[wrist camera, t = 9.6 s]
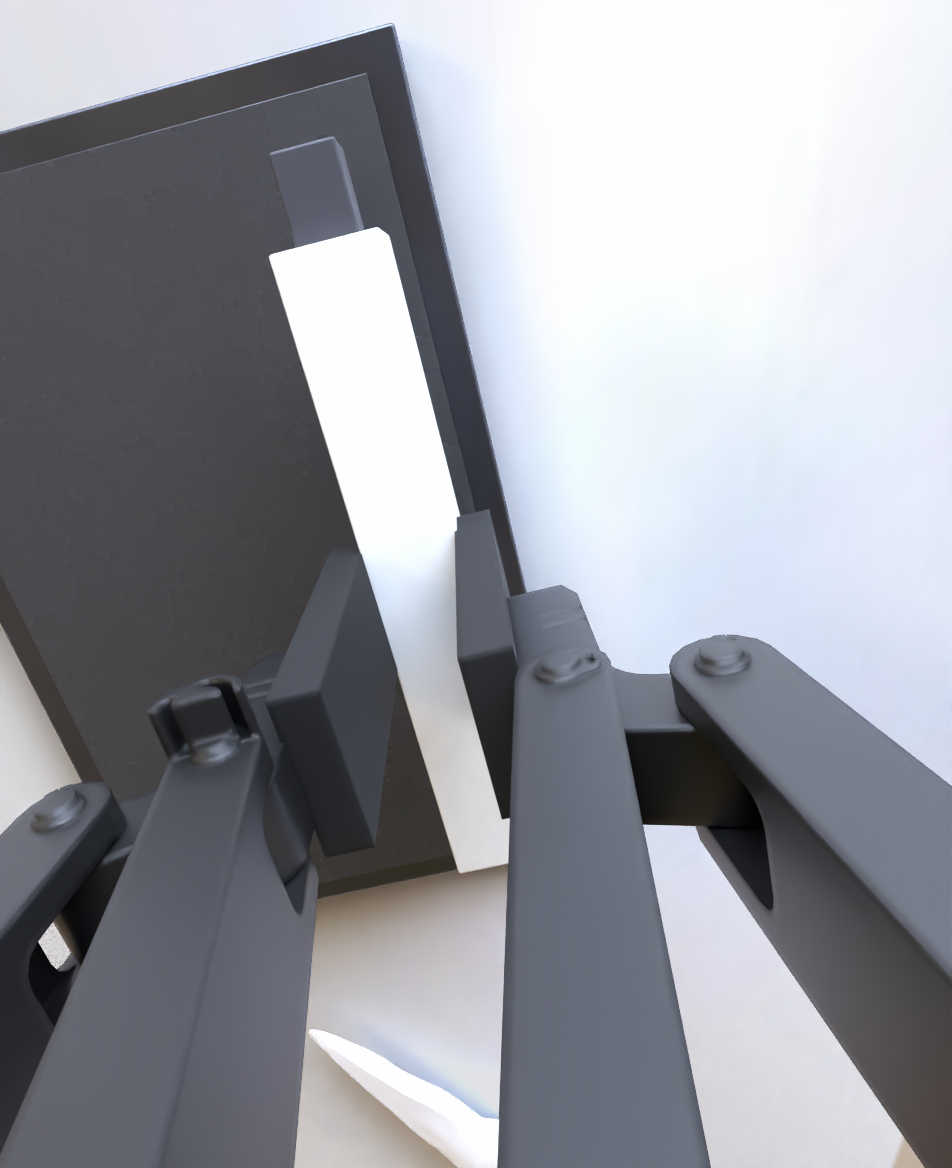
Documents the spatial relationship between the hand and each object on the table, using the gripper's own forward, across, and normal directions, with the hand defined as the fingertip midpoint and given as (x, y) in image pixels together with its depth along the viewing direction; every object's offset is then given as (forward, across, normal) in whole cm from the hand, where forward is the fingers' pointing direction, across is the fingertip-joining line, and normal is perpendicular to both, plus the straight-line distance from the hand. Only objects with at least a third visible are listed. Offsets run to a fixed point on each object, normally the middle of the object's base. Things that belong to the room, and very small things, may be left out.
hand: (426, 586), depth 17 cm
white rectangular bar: (+1, 0, 0) cm, 1 cm away
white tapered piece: (+5, -5, -23) cm, 24 cm away
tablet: (+5, -5, 0) cm, 7 cm away
